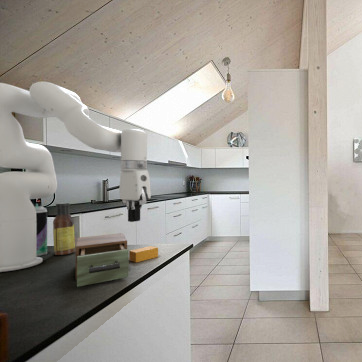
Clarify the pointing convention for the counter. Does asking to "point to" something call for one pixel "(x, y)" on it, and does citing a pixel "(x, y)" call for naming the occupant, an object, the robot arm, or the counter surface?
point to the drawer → (102, 264)
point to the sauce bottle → (63, 230)
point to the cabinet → (99, 242)
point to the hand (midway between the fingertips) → (134, 221)
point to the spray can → (41, 229)
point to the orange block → (143, 254)
